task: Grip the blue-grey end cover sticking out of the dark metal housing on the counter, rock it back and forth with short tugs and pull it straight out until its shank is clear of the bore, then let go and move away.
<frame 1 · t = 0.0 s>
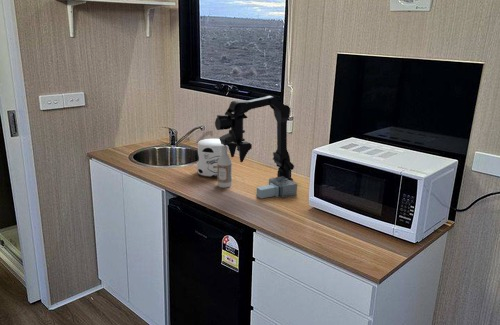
hand: (236, 159, 211), 15 cm above the worktop, tool pointing down, fingers open, 9 cm apart
housing: (282, 193, 210), on the worktop
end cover: (273, 189, 206), point 3 cm above the worktop, slide at 0.0 cm
bath foam: (224, 185, 218), on the worktop, touching gripper
milk container: (212, 174, 234), on the worktop
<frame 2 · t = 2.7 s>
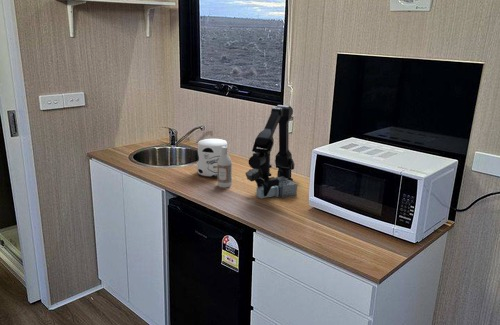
hand: (262, 194, 204), 1 cm above the worktop, tool pointing down, fingers closed on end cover, 4 cm apart
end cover: (273, 189, 206), point 2 cm above the worktop, slide at 0.0 cm, touching gripper
bath foam: (224, 185, 218), on the worktop
everything else where it was.
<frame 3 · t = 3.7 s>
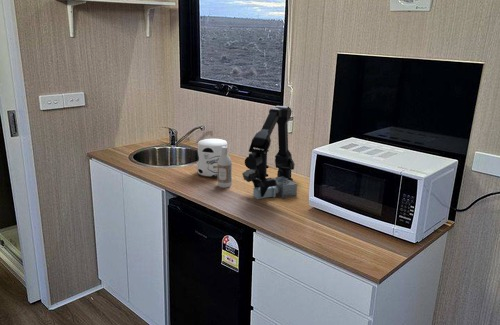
hand: (259, 195, 203), 1 cm above the worktop, tool pointing down, fingers closed on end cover, 4 cm apart
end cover: (270, 190, 206), point 2 cm above the worktop, slide at 1.7 cm, touching gripper
everything else where it was.
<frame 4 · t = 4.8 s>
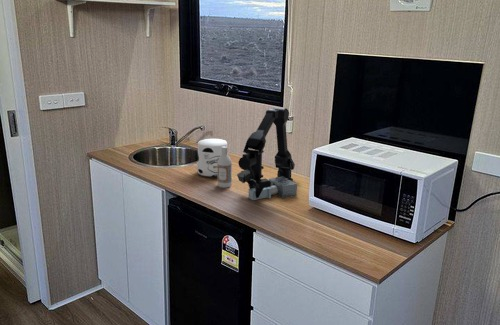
hand: (254, 196, 202), 1 cm above the worktop, tool pointing down, fingers closed on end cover, 4 cm apart
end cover: (265, 191, 204), point 2 cm above the worktop, slide at 4.3 cm, touching gripper
everything else where it was.
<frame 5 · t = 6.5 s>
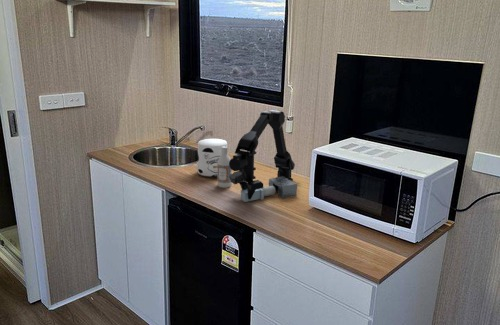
hand: (247, 197, 200), 1 cm above the worktop, tool pointing down, fingers closed on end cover, 4 cm apart
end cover: (258, 192, 202), point 2 cm above the worktop, slide at 8.4 cm, touching gripper
everything else where it was.
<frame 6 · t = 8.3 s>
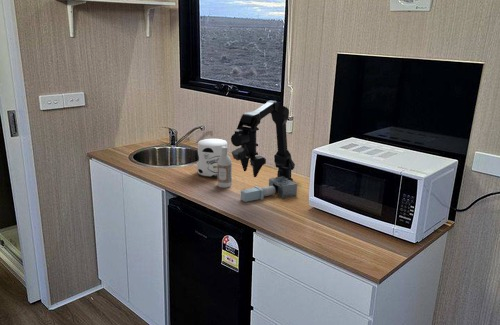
hand: (249, 174, 200), 11 cm above the worktop, tool pointing down, fingers open, 9 cm apart
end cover: (258, 192, 202), point 2 cm above the worktop, slide at 8.4 cm
everything else where it was.
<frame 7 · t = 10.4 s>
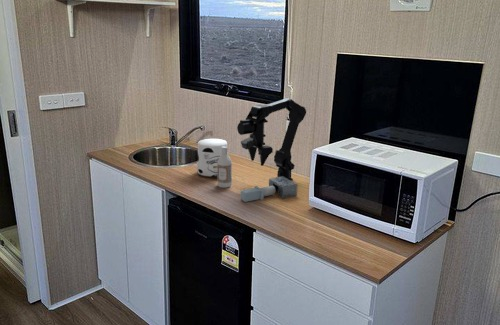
hand: (257, 163, 215), 12 cm above the worktop, tool pointing down, fingers open, 9 cm apart
nothing on the worktop moved.
at the end: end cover slide at 8.4 cm; the gripper is holding nothing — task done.
